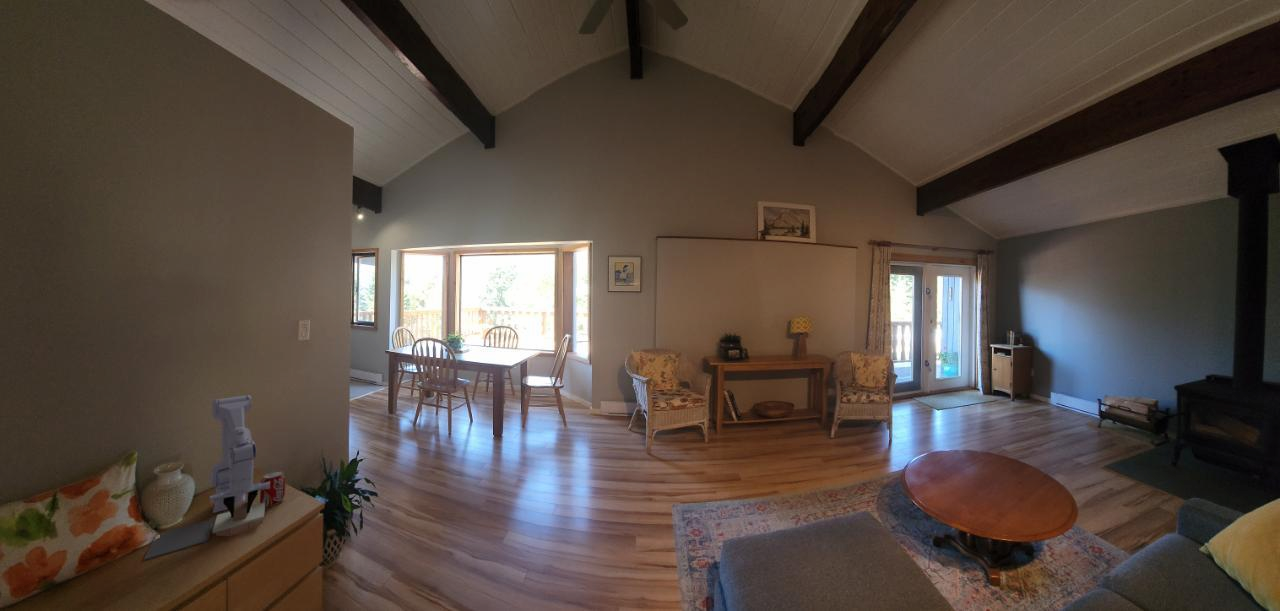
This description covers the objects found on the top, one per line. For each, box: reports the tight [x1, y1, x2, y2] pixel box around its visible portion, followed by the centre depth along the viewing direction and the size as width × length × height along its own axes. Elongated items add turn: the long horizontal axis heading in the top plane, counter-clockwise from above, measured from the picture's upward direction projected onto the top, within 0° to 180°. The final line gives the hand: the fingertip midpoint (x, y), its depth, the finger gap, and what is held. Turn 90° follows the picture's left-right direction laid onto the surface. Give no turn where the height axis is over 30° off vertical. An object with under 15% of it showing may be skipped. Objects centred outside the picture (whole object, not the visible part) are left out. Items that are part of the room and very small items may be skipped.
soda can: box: [259, 470, 286, 508], centre depth 142 cm, size 7×7×12 cm
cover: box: [212, 498, 266, 534], centre depth 128 cm, size 12×12×5 cm
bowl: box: [215, 519, 263, 537], centre depth 128 cm, size 11×11×3 cm
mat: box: [143, 518, 216, 562], centre depth 120 cm, size 16×13×1 cm
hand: (240, 514), depth 128 cm, fingers closed on cover, 3 cm apart
